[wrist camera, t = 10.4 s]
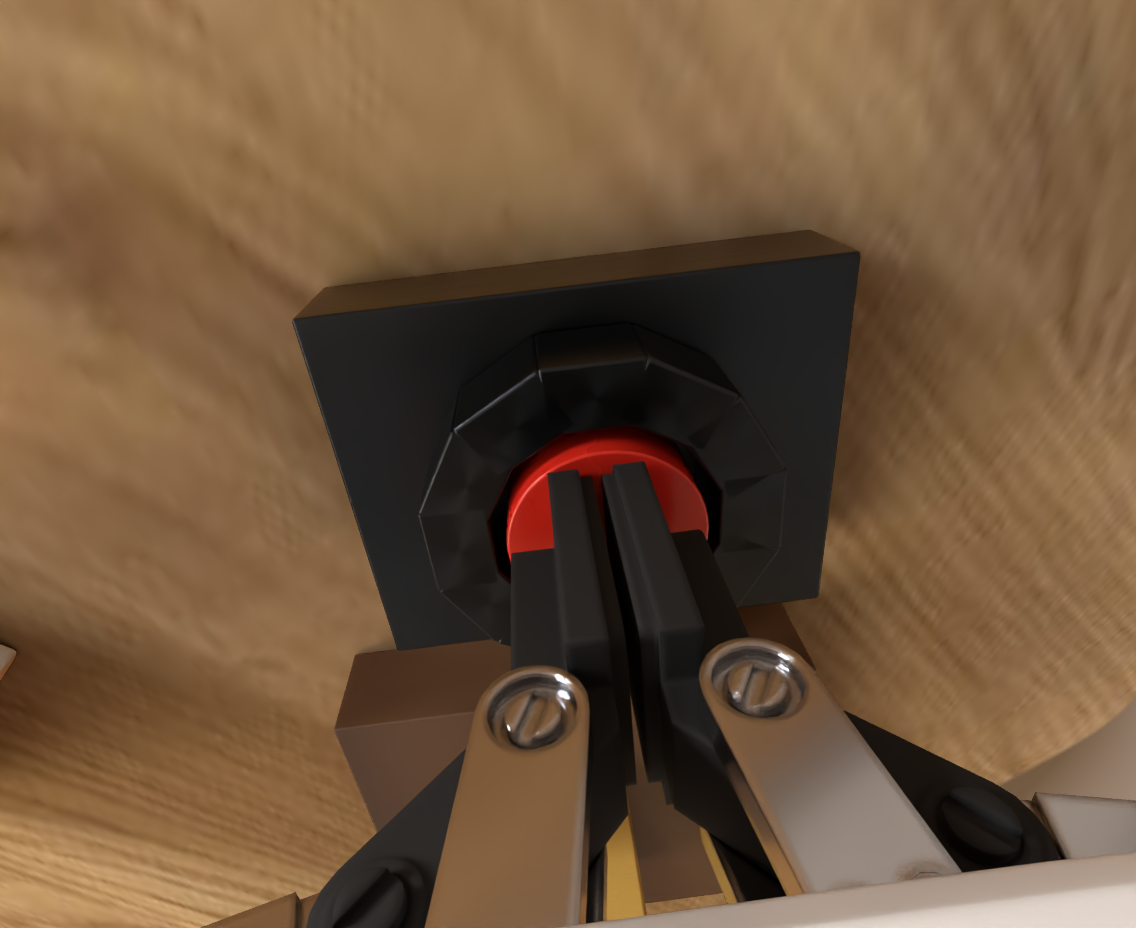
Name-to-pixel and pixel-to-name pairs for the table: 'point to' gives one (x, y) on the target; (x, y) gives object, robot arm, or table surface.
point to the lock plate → (442, 727)
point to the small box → (6, 659)
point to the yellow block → (624, 874)
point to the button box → (584, 407)
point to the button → (600, 482)
